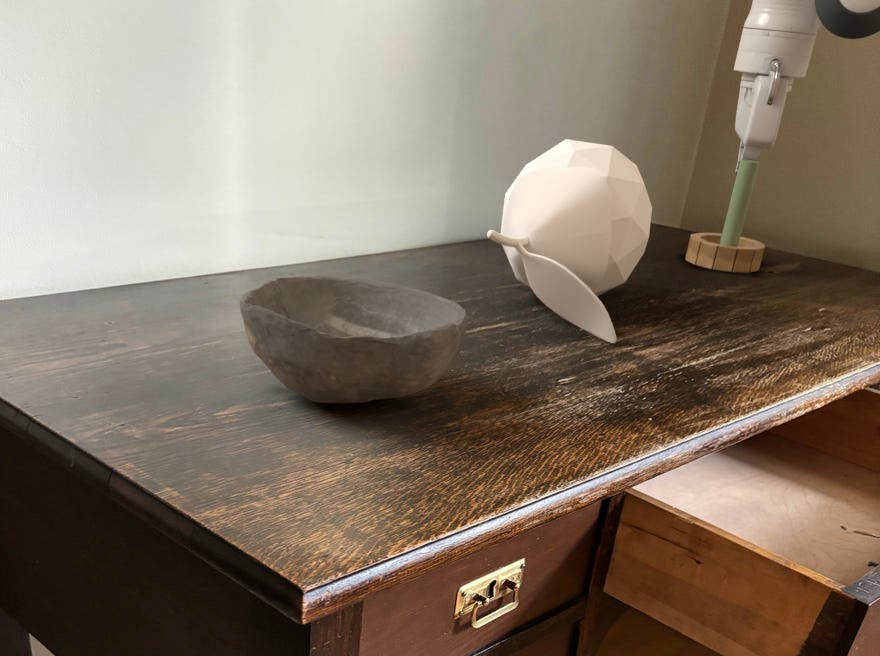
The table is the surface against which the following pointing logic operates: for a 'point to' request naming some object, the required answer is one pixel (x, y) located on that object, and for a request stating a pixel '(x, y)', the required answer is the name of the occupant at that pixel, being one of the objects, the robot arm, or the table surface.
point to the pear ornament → (576, 229)
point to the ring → (724, 253)
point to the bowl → (352, 336)
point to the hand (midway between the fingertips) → (742, 178)
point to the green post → (739, 202)
